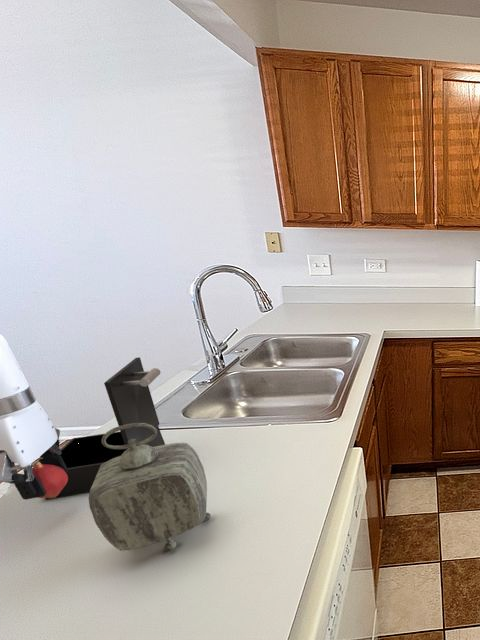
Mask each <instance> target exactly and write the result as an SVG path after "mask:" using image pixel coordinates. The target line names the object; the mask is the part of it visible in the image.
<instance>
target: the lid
mask: <svg viewBox="0 0 480 640" xmlns="http://www.w3.org/2000/svg"><path fill="white" fill-rule="evenodd" d="M160 375H161V370H160V369H159V368H156V367H154V368H152V369H150V370H147V371H145V370H144V366H143V363H142V360H141V357H140V356H139V357H135V358H133V360H131V361H129V362H128V363H127V364H125V366H123V367H122V368H121V369H120V370H118V371H117V372H116V373H115V374H113V375H112V376H110V377H109V378H108V379H107V380H106V381H105V382H104V383H103V384H104V387H105V391H106V394H107V396H108V398H109V402H110V405H111V408H112V411H113V414H114V417H115V420H116V423H117V425H118V426H117V427H119V426H122V425H126V424H131V423H146V424H149V425H152V426H153V427H155V428H157V427H158V426H160V421H159V417H158V413H157V411H156V407H155V403H154V400H153V397H152V393H151V390H150V385H151V384H152V382H154V381H155V379H157V378H158V377H159V376H160ZM119 432H121V434H122V437H123V440H124V443H125V445H127V444H128V441H129V440H130V439H136V441H137V442H139V441H143V440H145V439H147V438H149V437H150V436H151V434H152V433H153V432H154V431H153V430H152V429H150V428H147V427H132V428H127V429H123V430H120V431H119ZM128 449H129V448H128Z"/></svg>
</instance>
